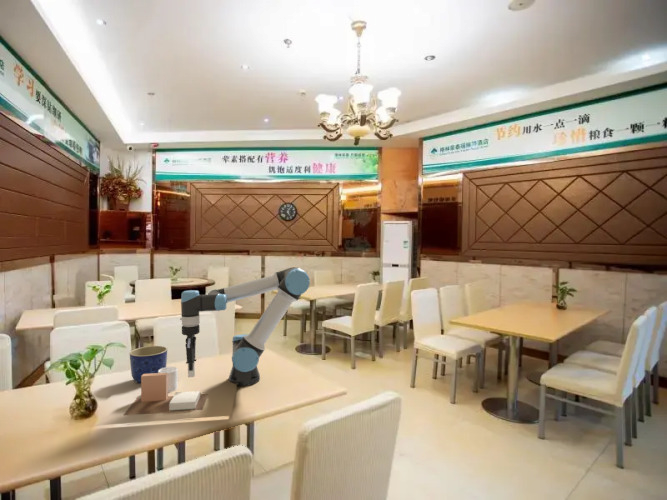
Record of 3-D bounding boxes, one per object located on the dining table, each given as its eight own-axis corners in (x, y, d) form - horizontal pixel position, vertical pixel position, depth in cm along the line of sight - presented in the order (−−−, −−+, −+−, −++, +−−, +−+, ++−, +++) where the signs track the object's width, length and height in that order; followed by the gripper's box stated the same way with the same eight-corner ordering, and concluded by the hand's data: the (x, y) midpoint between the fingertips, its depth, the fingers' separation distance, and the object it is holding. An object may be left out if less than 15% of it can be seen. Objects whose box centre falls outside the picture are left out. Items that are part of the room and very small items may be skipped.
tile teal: (199, 391, 165) (195, 401, 154) (199, 398, 165) (195, 409, 154) (175, 392, 163) (169, 403, 152) (175, 399, 163) (169, 411, 152)
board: (208, 396, 169) (208, 393, 169) (202, 412, 154) (202, 409, 154) (137, 400, 164) (137, 398, 164) (123, 418, 148) (123, 415, 148)
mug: (150, 398, 167) (149, 375, 167) (148, 391, 174) (148, 369, 174) (178, 393, 173) (178, 370, 173) (176, 386, 180) (176, 365, 180)
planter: (170, 382, 185) (170, 352, 185) (131, 390, 176) (131, 358, 175) (164, 372, 199) (164, 344, 199) (127, 378, 190) (127, 349, 189)
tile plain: (167, 397, 165) (167, 372, 165) (166, 400, 162) (165, 375, 162) (143, 398, 164) (143, 373, 163) (141, 401, 161) (141, 376, 160)
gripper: (184, 322, 174) (185, 372, 175) (178, 328, 162) (179, 382, 162) (201, 321, 176) (202, 371, 177) (197, 327, 163) (198, 381, 164)
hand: (191, 376), depth 170 cm, fingers closed
